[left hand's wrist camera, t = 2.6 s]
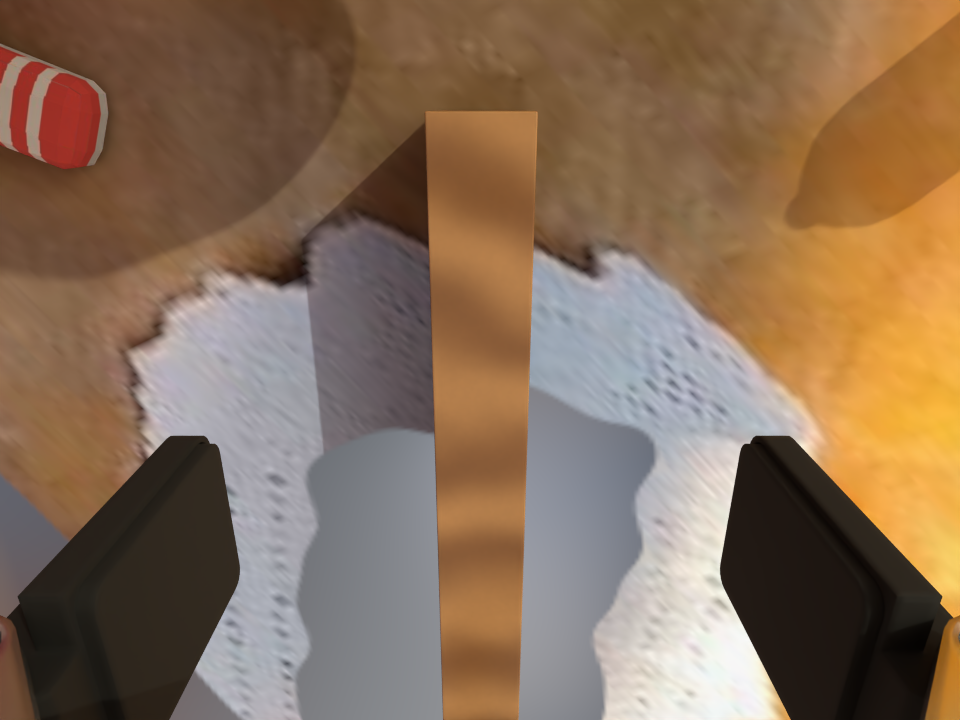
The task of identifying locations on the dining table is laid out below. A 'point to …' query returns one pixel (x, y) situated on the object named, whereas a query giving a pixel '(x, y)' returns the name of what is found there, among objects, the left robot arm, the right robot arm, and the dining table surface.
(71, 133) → the toy
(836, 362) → the dining table surface
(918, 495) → the dining table surface
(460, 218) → the post
